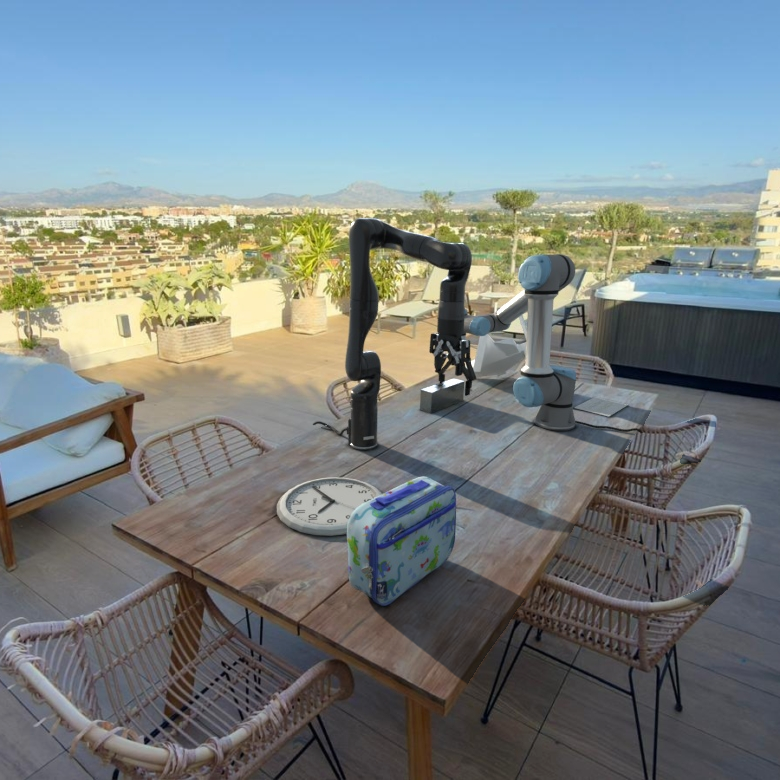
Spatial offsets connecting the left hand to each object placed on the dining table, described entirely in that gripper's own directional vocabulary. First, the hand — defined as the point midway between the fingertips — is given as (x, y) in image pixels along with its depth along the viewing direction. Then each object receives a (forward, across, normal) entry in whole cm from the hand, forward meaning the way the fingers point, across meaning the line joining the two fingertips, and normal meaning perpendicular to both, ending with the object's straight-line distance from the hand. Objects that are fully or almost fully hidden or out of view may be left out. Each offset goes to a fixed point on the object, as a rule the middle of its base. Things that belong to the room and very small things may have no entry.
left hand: (448, 372), depth 152 cm
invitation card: (+33, -6, +100) cm, 106 cm away
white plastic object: (+33, -53, +92) cm, 111 cm away
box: (+33, -48, +46) cm, 74 cm away
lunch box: (+33, +31, -42) cm, 62 cm away
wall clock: (+33, -4, -38) cm, 50 cm away
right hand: (+29, -50, +54) cm, 79 cm away
